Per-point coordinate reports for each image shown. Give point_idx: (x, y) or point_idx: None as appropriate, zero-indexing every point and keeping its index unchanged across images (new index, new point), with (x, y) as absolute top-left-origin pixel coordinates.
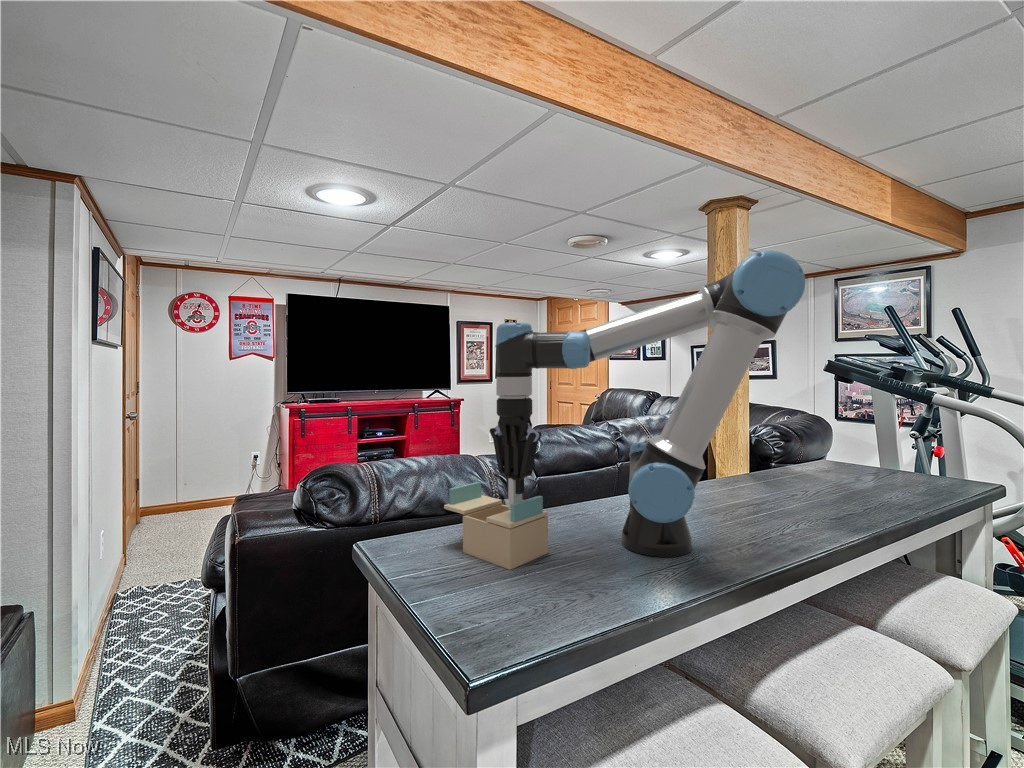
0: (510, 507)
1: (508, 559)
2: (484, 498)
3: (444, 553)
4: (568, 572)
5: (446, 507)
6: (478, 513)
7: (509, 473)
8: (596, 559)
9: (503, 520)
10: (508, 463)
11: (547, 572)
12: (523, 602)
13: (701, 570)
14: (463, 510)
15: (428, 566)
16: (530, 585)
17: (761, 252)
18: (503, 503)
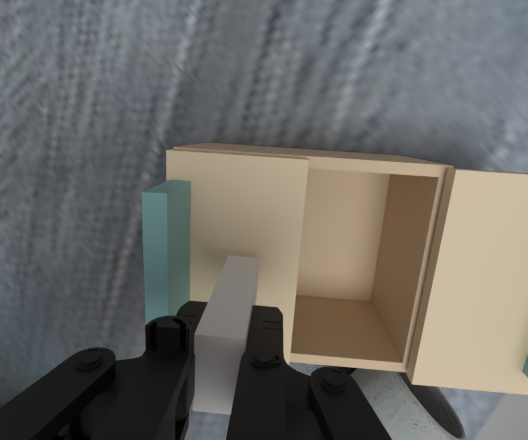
0: (246, 260)
1: (206, 143)
2: (493, 362)
3: (442, 112)
4: (91, 222)
5: None
6: (423, 241)
7: (238, 372)
8: (93, 323)
9: (221, 172)
10: (229, 437)
11: (127, 190)
12: (52, 7)
13: None
14: (464, 174)
15: (415, 2)
16: (105, 99)
17: None
18: (461, 435)
